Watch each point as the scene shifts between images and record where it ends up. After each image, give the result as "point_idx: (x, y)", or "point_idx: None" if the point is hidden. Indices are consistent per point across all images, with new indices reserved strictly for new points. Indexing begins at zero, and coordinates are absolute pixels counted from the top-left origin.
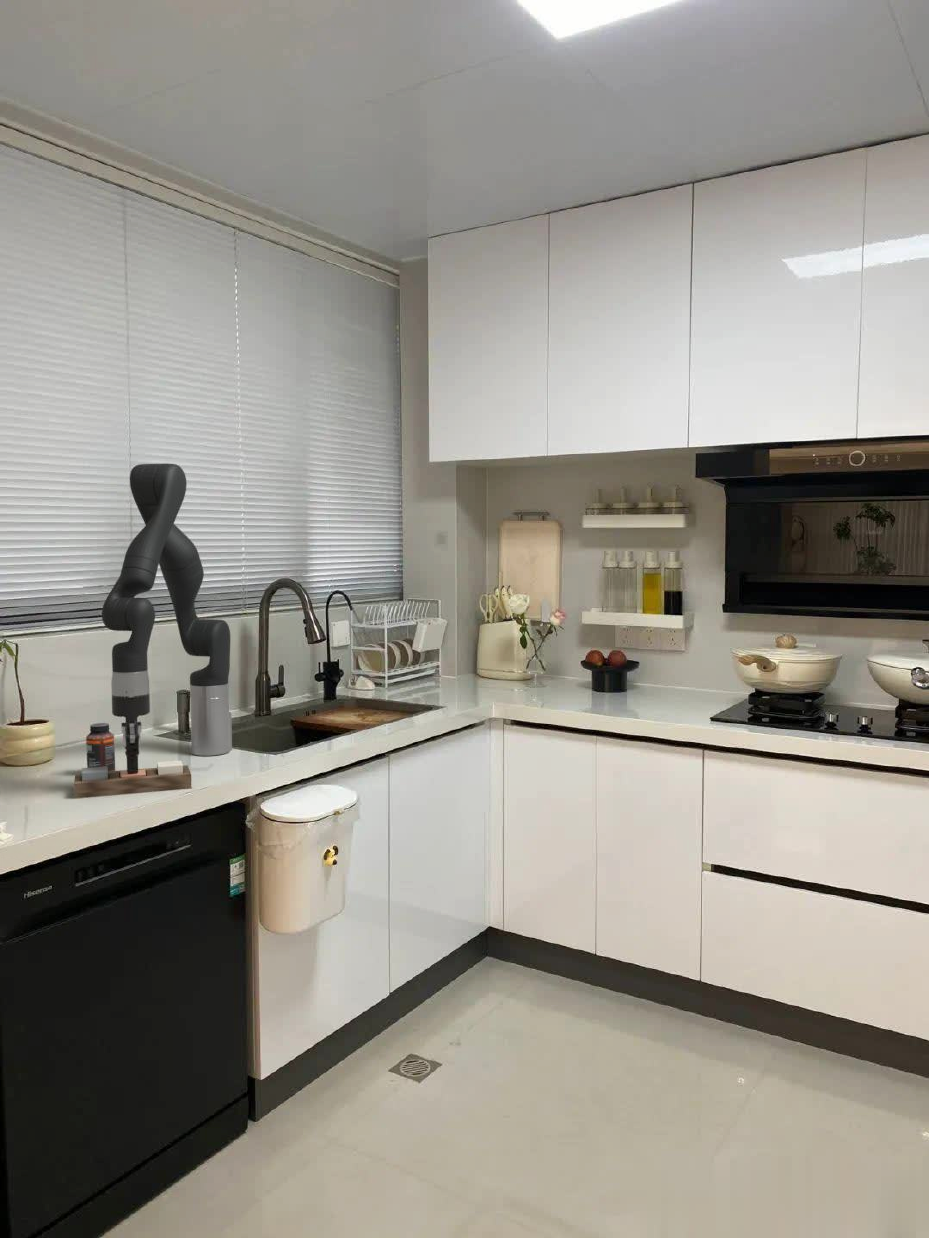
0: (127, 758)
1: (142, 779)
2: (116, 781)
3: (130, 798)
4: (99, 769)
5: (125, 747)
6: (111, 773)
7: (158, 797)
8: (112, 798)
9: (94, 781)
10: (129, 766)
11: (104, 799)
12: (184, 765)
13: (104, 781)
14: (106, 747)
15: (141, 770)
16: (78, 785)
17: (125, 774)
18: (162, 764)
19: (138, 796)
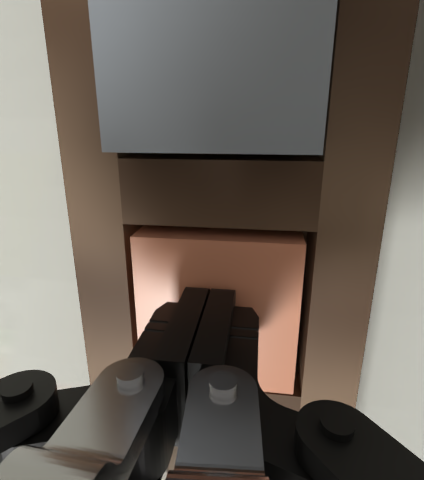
0: (156, 354)
1: (89, 344)
2: (71, 201)
3: (22, 244)
4: (202, 74)
5: (326, 429)
6: (303, 177)
7: (16, 351)
8: (39, 161)
9: (70, 43)
10: (149, 325)
11: (26, 119)
12: None
13: (58, 121)
14: None
15: (266, 372)
16: None
17: (185, 270)
18: None
19: (51, 280)
